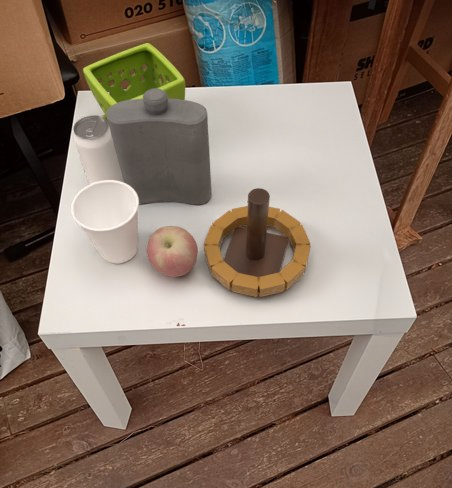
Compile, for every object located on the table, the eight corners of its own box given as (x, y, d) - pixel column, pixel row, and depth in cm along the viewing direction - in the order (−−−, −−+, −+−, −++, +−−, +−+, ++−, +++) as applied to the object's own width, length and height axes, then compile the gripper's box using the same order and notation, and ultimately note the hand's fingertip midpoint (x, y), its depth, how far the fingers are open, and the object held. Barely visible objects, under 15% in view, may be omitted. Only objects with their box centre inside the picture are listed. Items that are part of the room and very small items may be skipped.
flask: (212, 181, 90) (207, 82, 73) (211, 206, 87) (205, 108, 70) (129, 180, 91) (105, 82, 74) (125, 204, 88) (99, 108, 71)
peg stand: (287, 242, 83) (297, 179, 71) (276, 286, 78) (284, 227, 66) (235, 231, 84) (235, 167, 72) (220, 274, 80) (218, 213, 67)
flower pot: (158, 99, 102) (149, 39, 92) (193, 138, 96) (188, 79, 85) (96, 124, 99) (79, 65, 88) (127, 167, 92) (113, 109, 82)
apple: (140, 268, 81) (132, 237, 74) (174, 240, 83) (169, 207, 77) (176, 296, 78) (170, 266, 71) (209, 265, 81) (207, 234, 74)
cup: (134, 281, 79) (121, 238, 70) (78, 265, 81) (58, 220, 72) (158, 234, 84) (149, 188, 75) (105, 220, 86) (89, 173, 76)
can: (85, 193, 89) (66, 140, 79) (92, 167, 92) (74, 113, 82) (122, 194, 89) (107, 140, 79) (127, 168, 92) (113, 113, 82)
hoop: (315, 224, 83) (317, 215, 81) (296, 306, 75) (298, 298, 73) (221, 206, 85) (221, 197, 83) (193, 283, 77) (192, 275, 75)
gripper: (358, -236, 43) (321, 13, 61) (676, -216, 39) (537, 42, 58) (369, -259, 47) (331, -18, 65) (660, -243, 43) (534, 7, 61)
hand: (428, 10), depth 61 cm, fingers open, 13 cm apart
